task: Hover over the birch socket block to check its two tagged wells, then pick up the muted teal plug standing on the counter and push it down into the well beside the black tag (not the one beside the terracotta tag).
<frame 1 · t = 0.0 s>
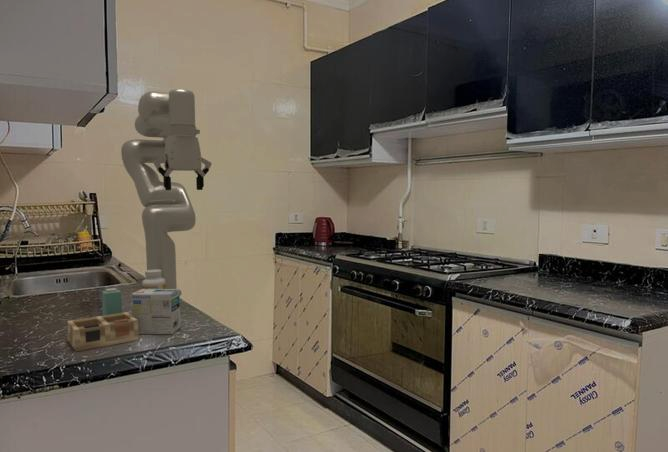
hand: (184, 190, 148), 37 cm above the countertop, tool pointing down, fingers open, 9 cm apart
light bulb box: (157, 331, 130), on the countertop
supplement bottle: (155, 313, 149), on the countertop
plug: (112, 327, 133), on the countertop
socket block: (103, 340, 122), on the countertop
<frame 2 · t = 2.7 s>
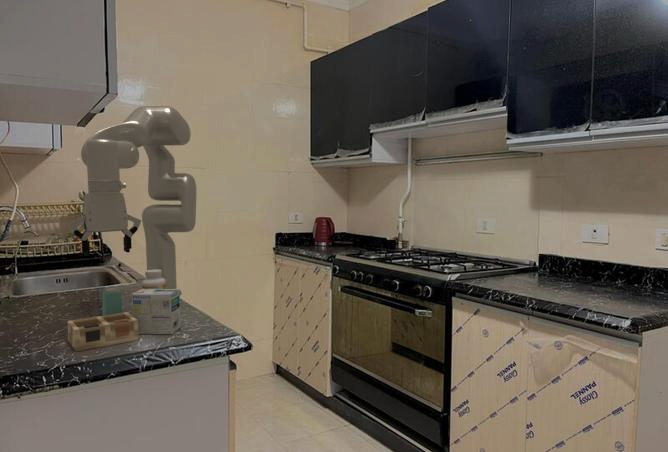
hand: (107, 253, 129), 21 cm above the countertop, tool pointing down, fingers open, 9 cm apart
nothing on the countertop moved.
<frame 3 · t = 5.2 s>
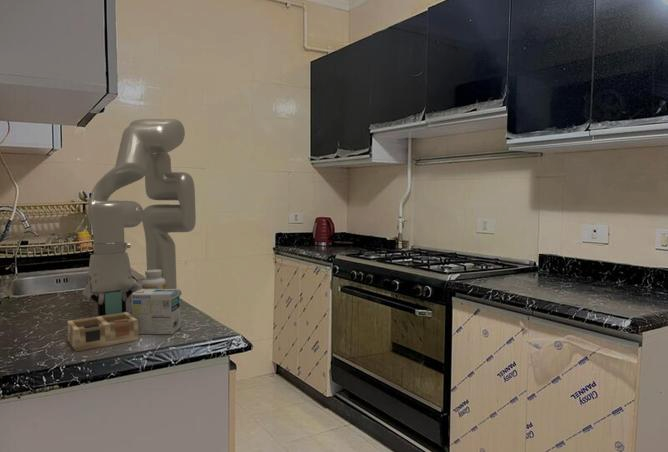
hand: (112, 315, 133), 3 cm above the countertop, tool pointing down, fingers closed on plug, 4 cm apart
plug: (112, 327, 133), on the countertop, touching gripper
everything else where it was.
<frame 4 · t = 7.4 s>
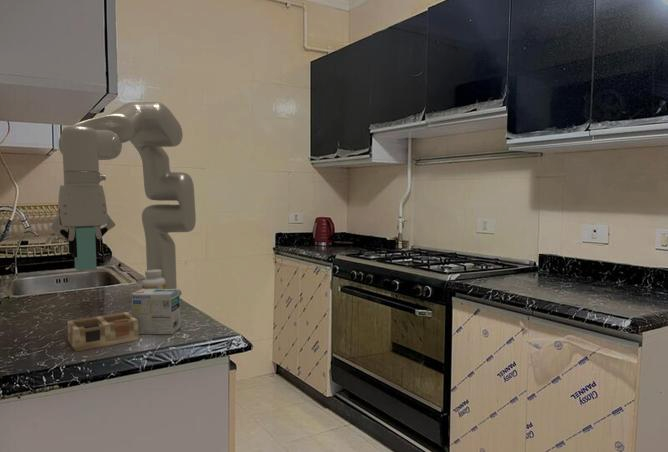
hand: (85, 255, 119), 22 cm above the countertop, tool pointing down, fingers closed on plug, 4 cm apart
plug: (85, 268, 119), point 18 cm above the countertop, touching gripper
everything else where it was.
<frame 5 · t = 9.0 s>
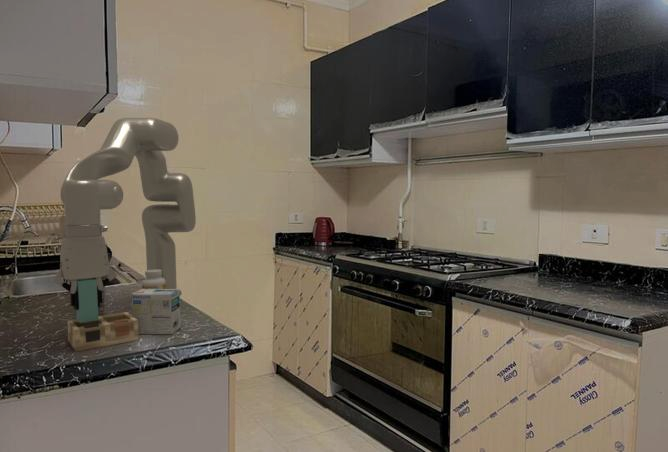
hand: (86, 306, 119), 9 cm above the countertop, tool pointing down, fingers closed on plug, 4 cm apart
plug: (87, 319, 120), point 6 cm above the countertop, touching gripper
everything else where it was.
when the fingers open (5 cm above the countertop, at t = 10.0 s): plug drops 1 cm, resting on socket block.
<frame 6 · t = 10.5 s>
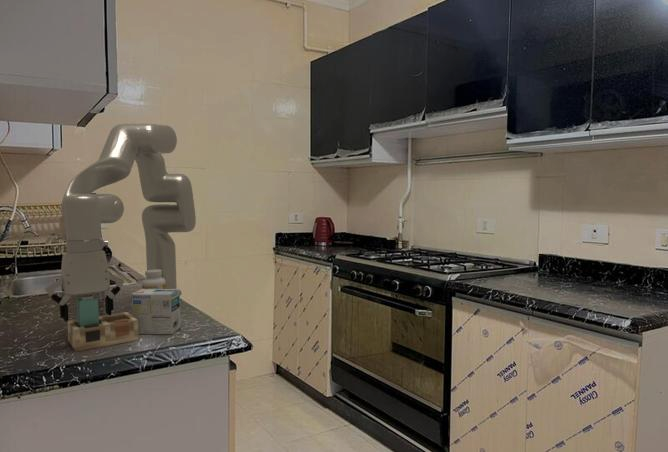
hand: (87, 317, 120), 6 cm above the countertop, tool pointing down, fingers open, 9 cm apart
plug: (88, 338, 120), point 1 cm above the countertop, touching socket block
everything else where it was.
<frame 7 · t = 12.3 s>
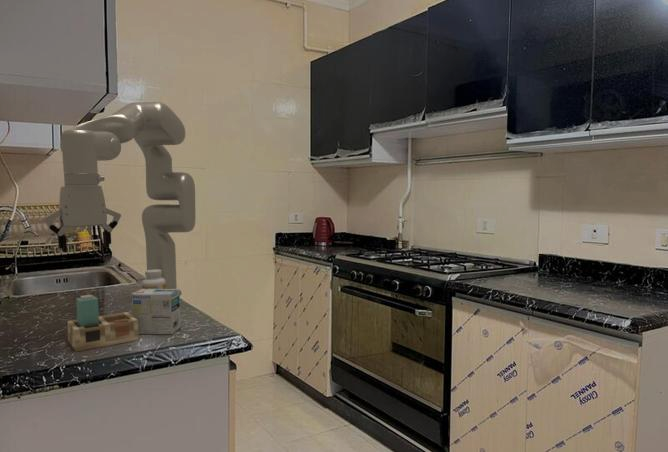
hand: (85, 249, 124), 22 cm above the countertop, tool pointing down, fingers open, 9 cm apart
nothing on the countertop moved.
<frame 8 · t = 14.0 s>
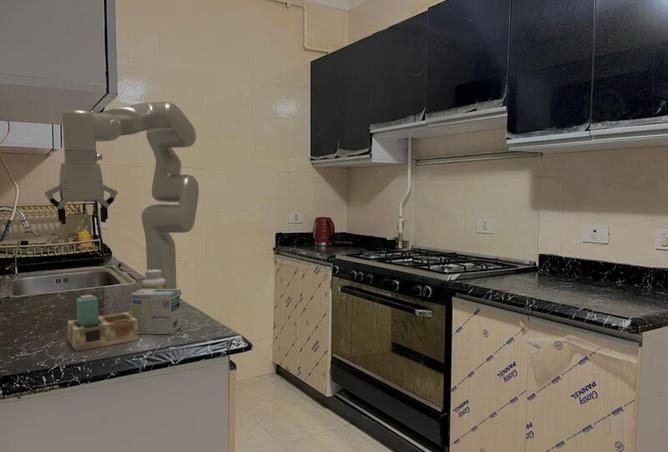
hand: (83, 223, 132), 28 cm above the countertop, tool pointing down, fingers open, 9 cm apart
nothing on the countertop moved.
at the end: plug 0.0 cm from the target spot on the socket block, point 1.0 cm above the socket block's base; plug tilted 0°; the gripper is holding nothing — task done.
